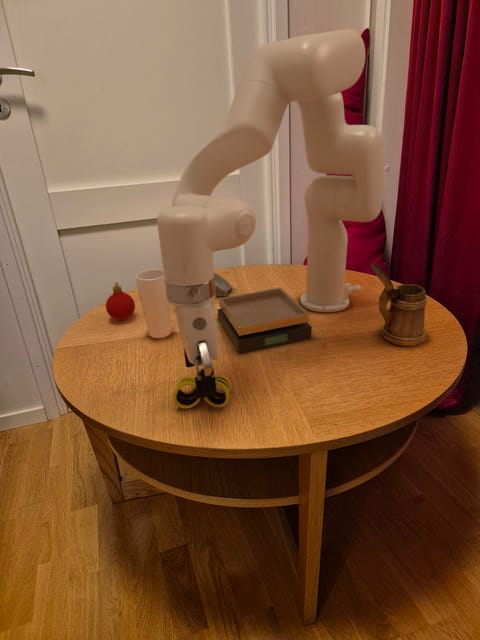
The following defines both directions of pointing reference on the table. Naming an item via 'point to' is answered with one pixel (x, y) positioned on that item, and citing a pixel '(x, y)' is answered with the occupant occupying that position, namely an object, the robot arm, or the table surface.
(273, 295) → the scale pan
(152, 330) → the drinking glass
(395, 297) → the wooden mug
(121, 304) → the christmas ornament
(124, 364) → the table surface
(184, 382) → the opera glasses
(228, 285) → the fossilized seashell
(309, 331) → the scale
